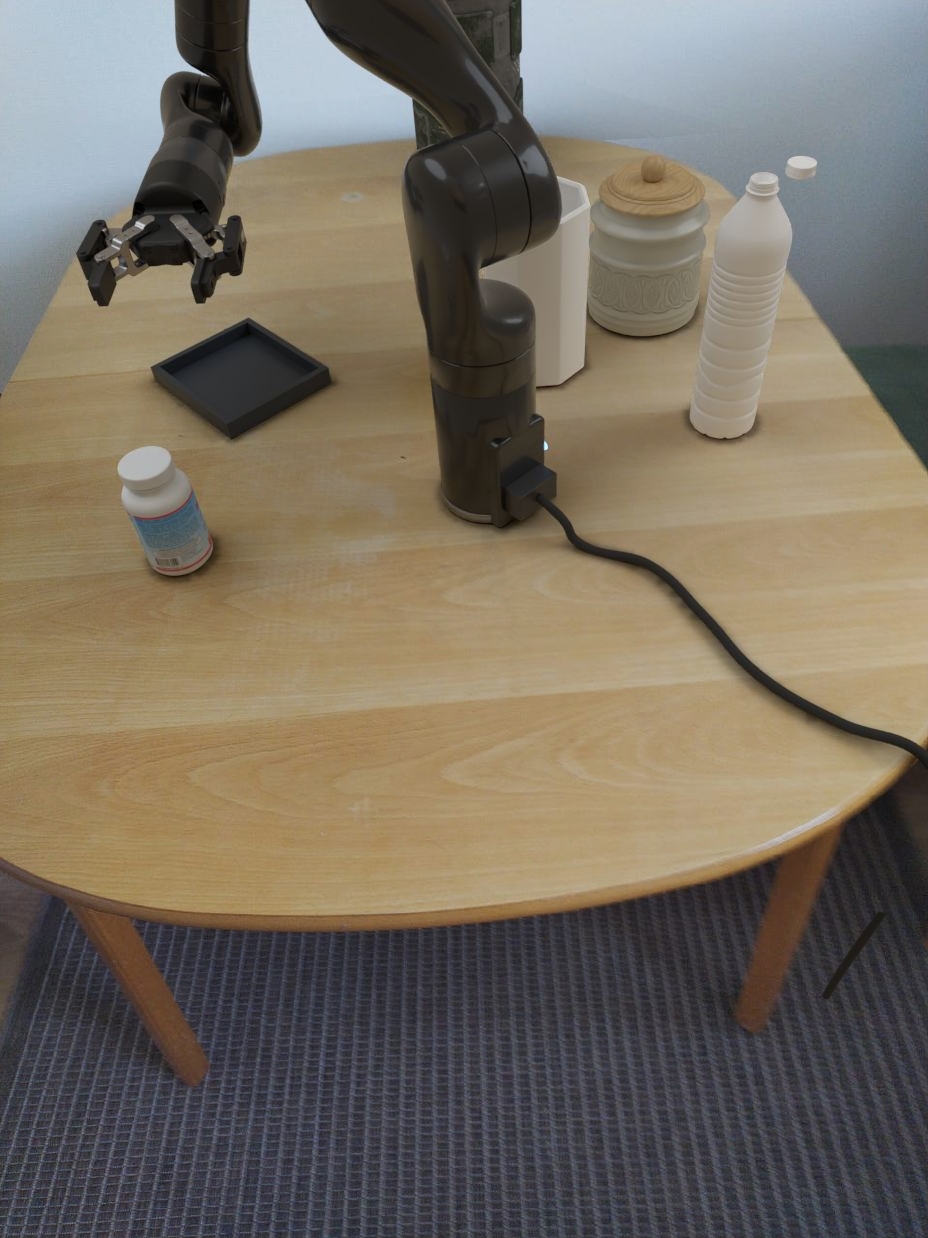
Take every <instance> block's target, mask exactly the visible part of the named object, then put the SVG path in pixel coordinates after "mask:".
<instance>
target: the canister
mask: <svg viewBox="0 0 928 1238" xmlns="http://www.w3.org/2000/svg"><path fill="white" fill-rule="evenodd" d="M445 1H446V2H447V4H448V6H449V8H450V9H451V11H452V13H453V14H454V16H455V17H456V19H457V21H458V22H459V24H460V25H461V27H462V29H463V30H464V32H465V33H466V35H467V37H468V38H469V40H470V41H471V43H472V44H473V46H474V47H475V49H476V50H477V52H478V53H479V54H480V56H481V57H482V59H483V60H484V61H485V63H486V64H487V65H488V67H489V68H490V70H491V71H492V72H493V74H494V75H495V76H496V78H497V79H498V81H499V82H500V83H501V85H502V86H503V87H504V89H505V90H506V92H507V93H508V94H509V96H510V97H511V98H512V100H513V101H514V103H515V104H516V105H517V107H518V108H519V109H520V111H521V112H522V114H523V115H524V78H523V77H522V76H521V57H520V56H521V54H522V51H523V18H522V17H523V12H522V11H523V9H522V8H523V6H522V0H445ZM411 102H412V112H413V122H414V123H413V124H414V133H415V134H414V135H415V142H416V143H415V145H416V151H417V150H419V149H421V148H424V147H426V146H429V145H432V144H435V143H438V142H441V141H444V140H447V139H450V138H451V136H450V135H449V134H448V132H447V131H446V130H445V129H444V127H443V126H442V125H441V124H440V123H439V121H438V120H437V119H436V118H435V117H434V116H433V115H432V114H431V113H430V112H429V111H428V110H427V109H426V108H424V107H423V106H422V105H421V104H420V103H418V102H417V101H416V100H414V99H413V98H411Z"/></svg>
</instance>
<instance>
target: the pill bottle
mask: <svg viewBox="0 0 928 1238" xmlns="http://www.w3.org/2000/svg"><path fill="white" fill-rule="evenodd" d="M117 473H118V476H119V478H120V481H121V484H122V485H123V486H122V489H121V495H120V497H121V503H122V505H123V508H124V510H125V512H126V515H127V517H128V519H129V521H130V523H131V526H132V528H133V529H134V532H135V534H136V536H137V539H138V541H139V543H140V545H141V547H142V549H143V552H144V554H145V556H146V559H147V560H148V562H149V564H150V566H151V567H152V569H153V570H155V571H156V572H158V573H159V574H162V575H165V576H171V577H172V576H175V577H176V576H183V575H187V574H190V573H193V572H195V571H196V570H198V569H199V568H201V567H202V566H203V565H204V564H205V563H206V562H207V561H208V560H209V559H210V557H211V555H212V553H213V549H214V542H213V539H212V536H211V533H210V530H209V528H208V526H207V523H206V520H205V518H204V515H203V512H202V509H201V508H200V505H199V502H198V499H197V496H196V494H195V491H194V489H193V486H192V484H191V481H190V479H189V477H188V476H187V474H185V472H184V471H182V470H181V469H179V468H177V467H176V464H175V461H174V459H173V457H172V455H171V453H170V451H168V449H166V448H164V447H161V446H157V445H148V446H141V447H137V448H135V449H133V450H131V451H129V452H128V453H126V454H125V455H124V456H123V457H122V458H121V459H120V460H119V461H118V464H117Z"/></svg>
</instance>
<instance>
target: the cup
mask: <svg viewBox="0 0 928 1238" xmlns="http://www.w3.org/2000/svg"><path fill="white" fill-rule="evenodd" d="M556 176H557V179H558V183H559V188H560V192H561V198H562V214H561V221H560V224H559V227H558V229H557V231H556V232H555V234H554V235H553V236H552V237H551V238H550V239H549V240H548V241H546V242H545V243H543V244H541V245H539V246H537V247H535V248H533V249H531V250H528V251H526V252H524V253H521V254H519V255H515V256H513V257H510V258H508V259H505V260H503V261H500V262H497V263H495V264H492V265H490V266H487V267H484V268H483V270H484V271H483V273H484V279H492V280H498V281H502V282H505V283H508V284H511V285H513V286H515V287H517V288H519V289H521V290H522V291H523V292H525V293H526V294H527V295H528V296H529V298H530V299H531V300H532V302H533V305H534V308H535V314H536V387H547V386H559V385H561V384H563V383H564V382H565V381H567V380H568V379H569V378H571V377H572V376H574V375H576V373H578V372H579V371H580V370H581V369H583V368H584V366H585V354H586V353H585V351H586V330H587V329H586V328H587V327H586V325H587V305H588V302H587V287H588V280H589V255H590V247H589V238H590V226H591V225H590V224H591V217H590V209H591V203H590V200H589V199H590V198H589V196H588V192H587V189H586V186H585V185H584V184H582V183H579V182H577V181H574V180H571V179H568V178H564V177H562V176H560V175H559V176H558V175H556Z"/></svg>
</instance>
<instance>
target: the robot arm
mask: <svg viewBox="0 0 928 1238" xmlns="http://www.w3.org/2000/svg"><path fill="white" fill-rule="evenodd" d="M173 1H174V2H173V3H174V34H175V35H174V36H175V43H176V49H177V52H178V54H179V55H180V57H181V58H182V60H184V62H185V63H187V64H188V65H189V66H190V67H192V68H194V69H195V70H197V71H199V72H201V73H202V74H201V73H196V72H193V71H187V70H180V71H176V72H174V73H172V74H170V75H168V77H167V78H166V79H165V80H164V82H163V85H162V87H161V90H160V96H159V111H160V120H161V121H160V122H161V126H162V130H163V136H162V139H161V142H160V144H159V147H158V149H157V151H156V152H155V153H154V155H153V156H152V158H151V160H150V161H149V164H148V166H147V168H146V171H145V174H144V176H143V179H142V180H141V182H140V185H139V188H138V191H137V193H136V196H135V199H134V201H133V205H132V212H131V218H130V219H129V220H128V221H127V222H125V223H124V224H123V226H122V227H108V225H107V222H106V220H104V219H97V220H94V221H93V222H92V223H91V225H90V227H89V228H88V231H87V233H86V234H85V236H84V237H83V240H82V241H81V243H80V245H79V247H78V249H77V250H76V253H75V255H76V258H77V261H78V263H79V265H80V268H81V270H82V272H83V275H84V278H85V280H86V281H87V287H88V291H89V292H90V296H91V297H92V300H93V302H96V304H97V306H98V307H100V308H101V307H102V308H103V307H109V306H110V303H111V301H112V297H113V295H114V293H115V290H116V287H117V285H118V281H120V280H122V279H123V278H125V277H126V276H128V275H129V276H131V277H137V275H139V274H141V273H143V272H144V271H145V270H147V269H149V268H150V267H160V266H161V267H162V266H173V267H174V266H175V267H176V266H178V267H180V266H181V267H182V266H184V264H188V265H189V266H190V267H191V268H192V269H193V271H192V275H191V279H190V289H191V292H192V295H193V299H194V302H195V304H196V305H201V304H202V305H204V304H206V302H207V299H209V298H211V297H212V296H213V295H214V294H215V290H216V285H217V282H218V281H220V280H221V279H222V275H225V274H229V276H231V277H238V276H241V275H242V274H243V270H244V264H245V256H246V250H247V243H248V241H247V238H246V233H245V228H244V225H243V221H242V217H241V216H240V215H238V214H233V215H230V216H229V217H227V220H226V223H223V224H219V223H220V219H221V216H222V212H223V209H224V207H225V206H226V198H227V188H228V187H227V186H228V184H229V179H230V177H231V172H232V169H233V165H234V161H235V159H234V158H244V157H247V156H249V155H250V154H252V153H253V152H254V151H255V150H256V148H257V147H258V146H259V143H260V141H261V138H262V134H263V113H262V108H261V102H260V97H259V93H258V91H257V87H256V82H255V79H254V75H253V70H252V64H251V58H250V46H249V43H250V42H249V40H250V39H249V37H250V14H251V0H173ZM304 2H305V4H306V5H307V7H308V9H309V11H310V12H311V15H312V17H313V18H314V20H315V21H316V23H317V25H318V26H319V28H320V30H321V32H322V33H323V35H324V36H325V37H326V39H328V41H329V42H330V43H331V45H333V46H334V47H335V48H336V49H337V50H338V51H339V52H341V53H342V54H343V55H344V56H345V57H347V58H348V59H349V60H350V61H352V62H353V63H355V64H356V65H358V66H359V67H361V68H363V69H364V70H365V71H367V72H369V73H371V74H372V75H373V76H375V77H377V78H378V79H380V80H381V81H383V82H385V83H387V84H388V85H389V86H392V87H393V88H395V89H396V90H398V91H400V92H402V93H403V94H405V95H406V96H408V97H409V98H411V99H412V98H413V99H414V100H416V101H417V102H418V103H420V104H421V105H422V106H423V107H424V108H426V109H427V110H428V111H429V112H430V113H431V114H432V115H433V116H434V117H435V118H436V119H437V120H438V121H439V123H440V124H441V125H442V126H443V127H444V129H445V130H446V131H447V132H448V134H449V135H450V136H451V138H450V139H447V140H444V141H441V142H438V143H435V144H432V145H429V146H426V147H424V148H421V149H419V150H417V149H416V150H415V151H414V152H412V153H411V154H410V155H409V156H408V158H407V159H406V161H405V164H404V167H403V169H402V175H401V188H400V189H401V190H400V192H401V194H400V195H401V206H402V213H403V220H404V221H403V222H404V226H405V231H406V232H405V233H406V237H407V242H408V243H407V244H408V248H409V255H410V260H411V261H410V262H411V265H412V266H411V267H412V273H413V280H414V287H415V294H416V299H417V304H418V307H419V311H420V314H421V318H422V321H423V325H424V330H425V338H426V347H427V349H426V350H427V358H428V367H429V379H430V388H431V398H432V407H433V408H432V409H433V417H434V426H435V435H436V437H435V438H436V446H437V454H438V464H439V469H440V470H439V473H440V492H441V498H442V501H443V503H444V505H445V507H447V509H448V510H449V511H450V512H451V513H452V514H454V515H456V516H457V517H459V518H461V519H464V520H467V521H470V522H475V523H481V524H482V523H483V524H493V525H494V526H496V527H497V528H503V527H505V526H506V525H507V524H509V523H510V522H512V521H513V520H514V519H517V520H519V521H520V522H523V521H524V520H526V519H527V518H528V517H530V516H531V515H533V514H534V513H536V512H537V511H538V510H539V509H541V508H543V509H545V510H546V511H547V512H548V513H549V514H550V515H551V516H552V517H553V518H554V519H555V520H556V521H557V522H558V523H559V524H560V526H561V528H563V530H564V533H565V536H566V538H567V540H568V541H569V543H571V544H572V545H574V546H575V547H576V548H577V549H579V550H581V551H582V552H584V553H587V554H589V555H593V556H597V557H601V558H604V559H610V560H614V561H620V562H627V563H630V564H635V565H636V566H639V567H642V568H644V569H645V570H647V571H649V572H650V573H653V574H654V575H656V576H657V577H658V578H660V579H661V580H662V581H663V582H665V584H667V585H668V586H669V587H670V588H671V589H672V590H673V591H674V592H675V593H676V595H678V597H679V598H680V599H681V600H682V601H683V603H684V604H685V605H686V606H687V607H688V608H689V609H690V610H691V611H692V612H693V613H694V615H695V616H696V617H697V618H698V619H699V620H700V621H701V622H702V623H703V624H704V625H705V626H706V627H707V628H708V630H709V631H710V632H711V633H712V635H714V637H715V638H716V639H717V640H718V642H719V643H720V644H721V646H722V647H723V648H724V649H725V650H726V652H727V653H728V654H729V655H730V657H732V659H733V660H734V661H735V662H736V663H737V664H738V665H739V667H741V668H742V669H743V670H744V671H745V672H746V673H747V674H749V675H750V676H751V677H752V678H753V679H754V680H755V681H757V682H758V683H759V684H761V685H762V686H763V687H765V688H766V689H768V690H769V691H771V692H772V694H775V695H776V696H777V697H779V698H781V699H782V700H784V701H786V702H787V703H788V704H790V705H792V706H794V707H796V708H797V709H799V710H801V711H803V712H805V713H806V714H809V715H811V716H813V717H814V718H817V719H819V720H821V721H823V722H825V723H826V724H828V725H831V726H833V727H835V728H837V729H839V730H841V731H843V732H846V733H848V734H850V735H854V736H858V737H861V738H864V739H869V740H872V741H876V742H880V743H884V744H887V745H891V746H894V747H897V748H900V749H902V750H903V751H906V752H907V753H909V754H911V755H913V756H914V757H915V758H916V759H917V760H918V761H919V762H920V763H921V764H922V765H923V767H924V768H925V769H926V770H928V751H927V750H926V749H925V748H924V747H923V746H921V745H920V744H919V743H917V742H915V741H913V740H911V739H910V738H907V737H904V736H902V735H900V734H897V733H894V732H889V731H885V730H882V729H878V728H874V727H869V726H866V725H862V724H858V723H855V722H852V721H850V720H848V719H845V718H843V717H841V716H839V715H837V714H835V713H833V712H831V711H829V710H827V709H825V708H823V707H821V706H819V705H817V704H815V703H813V702H811V701H809V700H807V699H806V698H804V697H802V696H800V695H799V694H797V693H795V692H793V691H791V690H790V689H788V688H787V687H786V686H784V685H782V684H780V683H779V681H777V680H775V679H773V678H772V677H771V676H770V675H768V674H767V673H766V672H765V671H763V670H762V669H760V668H759V667H758V666H757V665H756V664H755V663H753V662H752V661H751V660H750V659H749V658H748V657H747V656H746V654H744V653H743V651H741V649H740V648H739V647H738V646H737V645H736V644H735V642H734V641H733V639H731V637H730V636H729V635H728V634H727V632H726V631H725V630H724V629H723V628H722V626H721V625H720V624H719V622H717V621H716V619H714V617H713V616H712V615H710V613H709V612H708V611H707V610H706V609H705V608H704V607H703V606H702V605H701V604H700V603H699V602H698V601H697V600H696V599H695V598H694V596H693V595H692V594H691V593H690V592H689V590H688V589H686V587H685V586H684V585H683V584H682V583H681V582H680V581H679V580H678V579H677V578H676V577H675V576H674V575H673V574H672V573H670V572H669V571H668V570H667V569H665V568H664V567H663V566H661V565H660V564H658V563H656V562H654V560H652V559H649V558H646V557H645V556H642V555H639V554H635V553H632V552H627V551H622V550H614V549H608V548H604V547H600V546H596V545H594V544H591V543H589V542H587V541H585V540H584V539H582V538H581V537H580V536H578V535H577V533H576V532H575V529H574V526H573V524H572V522H571V521H570V520H569V518H568V517H567V516H566V515H565V513H563V511H562V510H560V508H558V507H557V506H556V505H555V504H554V503H553V502H552V500H553V499H554V498H556V497H557V492H558V491H557V487H558V485H557V483H558V479H557V478H558V473H557V472H556V471H554V470H552V469H551V468H549V467H547V466H546V465H545V451H546V450H548V448H549V447H548V444H547V442H546V441H545V433H546V432H545V428H546V427H545V421H546V420H545V417H543V416H542V415H541V414H539V413H537V386H536V314H535V308H534V305H533V302H532V300H531V299H530V298H529V296H528V295H527V294H526V293H525V292H523V291H522V290H521V289H519V288H517V287H515V286H513V285H511V284H508V283H505V282H502V281H498V280H492V279H485V278H480V270H482V269H484V267H487V266H490V265H492V264H495V263H497V262H500V261H503V260H505V259H508V258H510V257H513V256H515V255H519V254H521V253H524V252H526V251H528V250H531V249H533V248H535V247H537V246H539V245H541V244H543V243H545V242H546V241H548V240H549V239H550V238H551V237H552V236H553V235H554V234H555V232H556V231H557V229H558V227H559V224H560V221H561V214H562V198H561V192H560V188H559V183H558V179H557V176H558V175H557V173H556V171H555V168H554V164H553V162H552V161H551V158H550V156H549V154H548V152H547V150H546V149H545V148H546V147H545V146H544V144H543V143H542V141H541V139H540V137H539V135H538V134H537V132H536V130H535V129H534V128H533V126H532V125H531V123H530V122H529V120H528V119H527V117H526V116H525V114H524V113H523V114H522V112H521V111H520V109H519V108H518V107H517V105H516V104H515V103H514V101H513V100H512V98H511V97H510V96H509V94H508V93H507V92H506V90H505V89H504V87H503V86H502V85H501V83H500V82H499V81H498V79H497V78H496V76H495V75H494V74H493V72H492V71H491V70H490V68H489V67H488V65H487V64H486V63H485V61H484V60H483V59H482V57H481V56H480V54H479V53H478V52H477V50H476V49H475V47H474V46H473V44H472V43H471V41H470V40H469V38H468V37H467V35H466V33H465V32H464V30H463V29H462V27H461V25H460V24H459V22H458V21H457V19H456V17H455V16H454V14H453V13H452V11H451V9H450V8H449V6H448V4H447V2H446V1H445V0H304ZM217 241H221V244H222V250H221V251H217V252H216V251H215V250H214V248H213V247H214V245H215V244H216V243H217ZM131 252H132V253H133V254H134V255H135V257H136V258H137V259H135V260H134V259H133V256H132V253H131ZM115 259H117V261H118V265H117V266H115V267H114V266H113V263H112V261H114V260H115ZM887 915H888V913H886V912H884V911H878V912H877V913H876V914H875V915H874V917H873V918H872V919H871V920H870V922H869V923H868V924H867V926H866V927H865V928H864V929H863V930H862V932H861V933H860V935H859V936H858V937H857V938H856V940H855V942H853V945H852V946H851V948H850V949H849V950H848V952H847V953H846V955H845V956H844V957H843V959H842V961H840V963H839V965H838V967H837V969H836V970H835V972H834V973H833V975H832V977H831V978H830V979H829V982H828V983H827V984H826V986H825V989H824V990H823V992H822V993H821V997H822V998H823V999H824V1000H830V999H831V997H832V995H833V993H834V992H835V990H836V989H837V987H838V986H839V984H840V982H841V981H842V979H843V977H844V976H845V975H846V973H847V972H848V971H849V969H850V967H851V966H852V964H853V963H854V961H855V960H856V959H857V958H858V956H859V954H860V953H861V952H862V951H863V949H864V948H865V947H866V945H867V944H868V943H869V941H870V939H871V938H872V937H873V935H874V934H875V933H876V931H877V930H878V928H879V926H880V925H882V923H883V921H884V920H885V918H886V917H887Z"/></svg>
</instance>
